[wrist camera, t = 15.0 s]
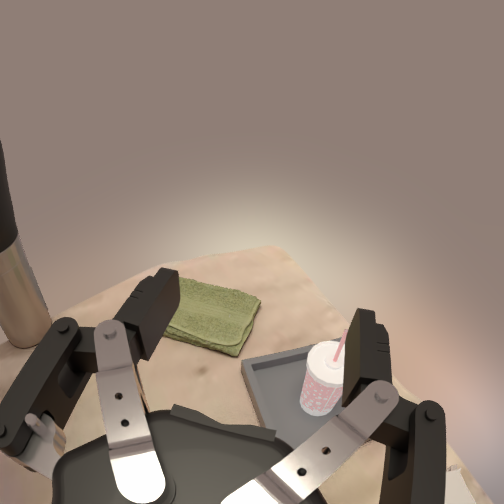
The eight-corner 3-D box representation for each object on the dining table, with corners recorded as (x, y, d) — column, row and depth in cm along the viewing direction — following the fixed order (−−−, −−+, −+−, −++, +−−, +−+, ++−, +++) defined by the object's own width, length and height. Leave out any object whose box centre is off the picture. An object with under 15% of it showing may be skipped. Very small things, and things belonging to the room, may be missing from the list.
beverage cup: (336, 382, 40) (368, 310, 33) (342, 420, 35) (381, 354, 28) (292, 382, 40) (313, 308, 33) (294, 421, 35) (320, 354, 27)
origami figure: (463, 473, 27) (484, 459, 24) (454, 527, 21) (477, 518, 18) (390, 460, 31) (406, 445, 28) (373, 517, 24) (390, 509, 22)
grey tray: (240, 370, 42) (241, 360, 41) (341, 346, 47) (345, 336, 45) (278, 473, 30) (281, 467, 29) (391, 430, 34) (399, 422, 33)
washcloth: (240, 363, 44) (241, 349, 42) (133, 330, 47) (129, 316, 46) (262, 304, 55) (264, 290, 53) (169, 282, 58) (167, 268, 56)
